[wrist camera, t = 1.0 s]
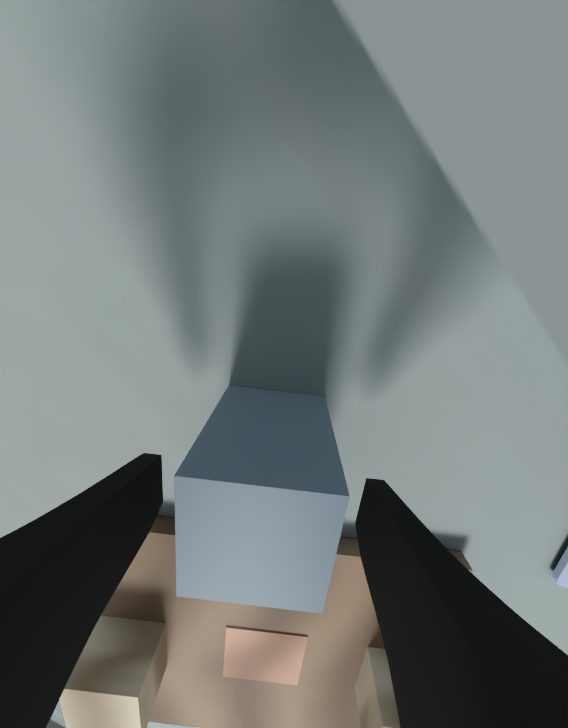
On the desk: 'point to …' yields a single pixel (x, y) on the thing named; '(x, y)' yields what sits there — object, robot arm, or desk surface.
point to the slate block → (261, 503)
